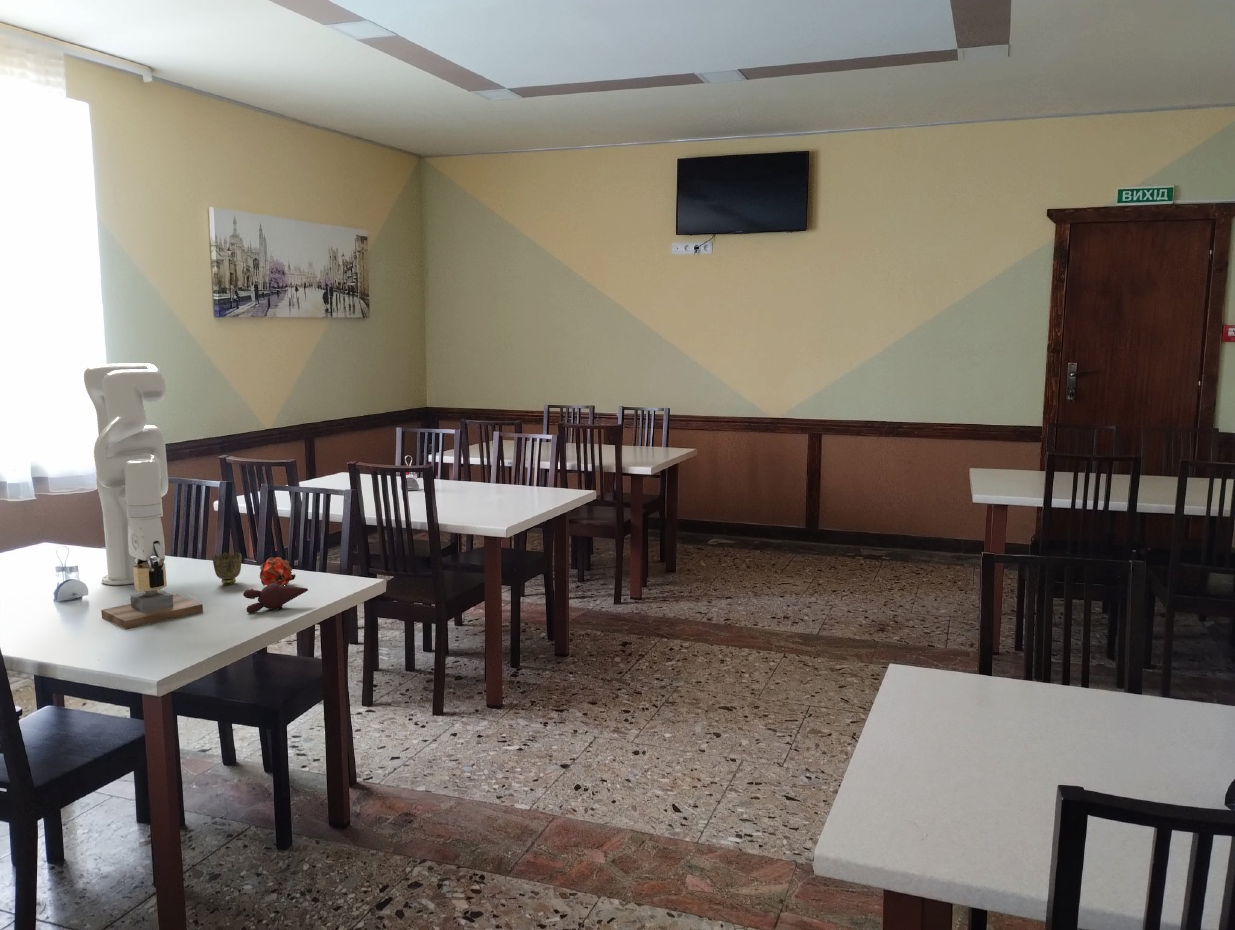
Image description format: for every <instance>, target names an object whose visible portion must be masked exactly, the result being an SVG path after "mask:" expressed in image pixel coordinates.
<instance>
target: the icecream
mask: <svg viewBox="0 0 1235 930" xmlns="http://www.w3.org/2000/svg"><path fill="white" fill-rule="evenodd" d="M308 591H309V588H308V587H306V588H305V587H300V586H288V585H286V586H281V585H278V584H277V582H275V583H271V584H269V585H265V586H264V587H263V588H262V589H261V590H258V589H254V588H250V589H247V590H244V592H243V594H242V595H243V597H244V598H245V599H250V600H255V599H256V598H257V602H255V603H252V604H250V605H248V606H247V607H246V612H247V613H248V614H253V613H256V612H258V611H260V610H262V609H264V608H266V609H268V610H282V609H283V605H285V604H287V603H289V602H290V601H292V600H294V599H296V598H297V597H299V596H301V595H302V594H305V593H306V592H308Z"/></svg>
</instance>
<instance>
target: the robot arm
mask: <svg viewBox="0 0 1235 930" xmlns="http://www.w3.org/2000/svg"><path fill="white" fill-rule="evenodd" d="M83 381H84V386H85V390H86V392H87V394H88V397H89V399H90V400H91V402H92V404H93V406H94V410H95V412H96V421H97V430H98V433H97V434H98V437H97V438H96V439H95V443H94V446H93V447H94V448H93V459H94V464H95V471H96V475H97V476H96V480H95V481H96V488H97V492H98V496H99V500H100V505H101V511H102V521H103V531H104V541H105V555H106V567H107V568H106V569H107V575H104V576H103V577H102V578H101V583H103V584H104V585H109V586H110V585H111V586H119V585H121V586H122V585H134V575H133V567H134V566H136V565H137V564H142V563H143V562H147V561H148V564H149V568H150V571H149V585H150V588H155V587H160V586H164V574H163V569H164V567H163V564H164V562H165V560H166V556H165V554H166V550H165V549H166V548H165V536H164V529H163V523H162V520H161V519H162V518H161V517H163V516H164V515H163V514H164V512H163V500H162V498H163V497H165V495H167V492H168V491H169V474H168V462H167V461H168V460H167V450H166V441H165V437H164V433H163V431H162V430H161V429H160V428H161V427H158V426H156V425H153V424H152V425H151V424H148V425H147V423H148V420H147V415H146V410H145V406H144V403H153V402H154V403H156V402H161V401H163V400H164V399H165V397H166V395H167V382H166V380H165V377H164V376H163V373H162V372H161V370H160V369H159V368H158V367H157V366H156V365H154V364H152V363H106V364H97V365H96V364H95V365H91V366H88V367H87V368H86V369H85V370H84V373H83ZM152 561H155V562H154V565H153V562H152Z"/></svg>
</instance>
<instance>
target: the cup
mask: <svg viewBox="0 0 1235 930" xmlns="http://www.w3.org/2000/svg"><path fill="white" fill-rule="evenodd" d="M242 557H243V554H242V553H241V552H238V553H237V552H235V553H234V554H233V555H232V554H231V552H228V553H227V552H223V553H222V554H221V553H218V555H217V554H215V555H212V556H211V559H212V565H213V569H214V573H215V575H216V577H217V578H218V579H221V584H222V585H224V586H231V585H234V584H236V582H237V579H236V578H237V577H239V575H240V573H241V570H242ZM230 584H231V585H230Z"/></svg>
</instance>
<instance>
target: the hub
mask: <svg viewBox="0 0 1235 930" xmlns="http://www.w3.org/2000/svg"><path fill="white" fill-rule="evenodd" d="M163 567H164V569H163V574H164V586H160V587H155V588H150V585H149V571H150V568H149V567H145V568H143V563H142V564H137V565H136V566H134V567H133V575H134V583H133V585H134V590H135V591H138V592H145V591H153V590H159V589H160V590H163V589H164V588H165V587H167V586H168V585H167V583H168V582H167V572H166V571H167V570H166V563H164V564H163Z"/></svg>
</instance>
